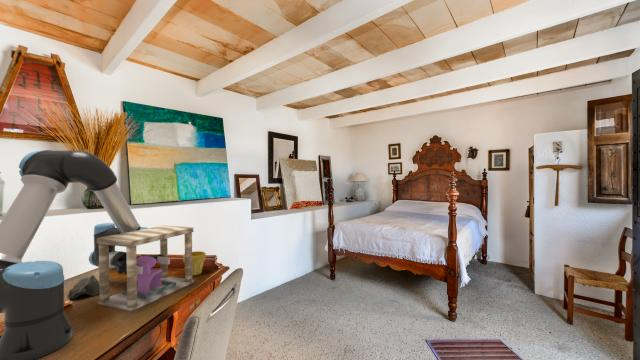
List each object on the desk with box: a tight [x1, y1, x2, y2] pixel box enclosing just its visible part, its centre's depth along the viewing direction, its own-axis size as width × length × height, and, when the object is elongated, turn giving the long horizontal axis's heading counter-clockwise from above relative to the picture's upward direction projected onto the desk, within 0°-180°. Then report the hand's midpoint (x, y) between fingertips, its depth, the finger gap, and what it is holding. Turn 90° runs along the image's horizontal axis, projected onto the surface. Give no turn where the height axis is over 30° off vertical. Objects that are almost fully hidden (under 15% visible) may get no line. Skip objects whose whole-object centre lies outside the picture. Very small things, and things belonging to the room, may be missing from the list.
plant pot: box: [182, 250, 207, 276], centre depth 137 cm, size 10×10×10 cm
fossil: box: [67, 273, 100, 300], centre depth 113 cm, size 11×9×10 cm
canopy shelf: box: [97, 225, 195, 312], centre depth 115 cm, size 29×18×25 cm, turn 160°
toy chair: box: [137, 255, 162, 294], centre depth 115 cm, size 8×9×15 cm
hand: (156, 265), depth 114 cm, fingers open, 12 cm apart
